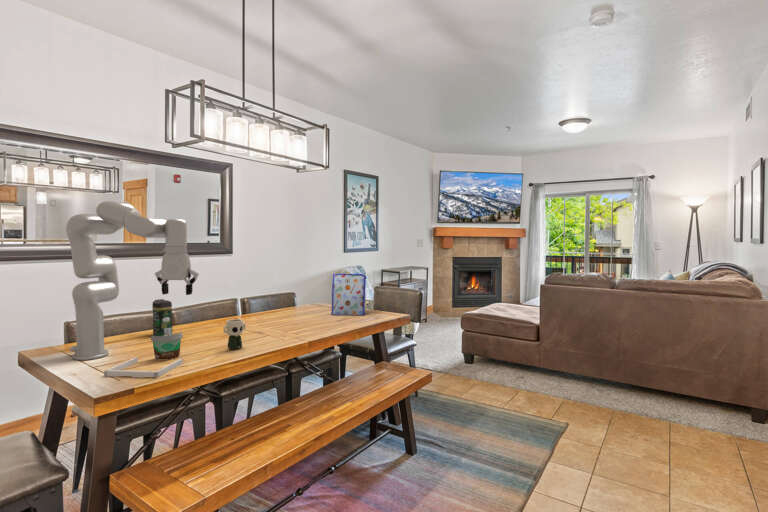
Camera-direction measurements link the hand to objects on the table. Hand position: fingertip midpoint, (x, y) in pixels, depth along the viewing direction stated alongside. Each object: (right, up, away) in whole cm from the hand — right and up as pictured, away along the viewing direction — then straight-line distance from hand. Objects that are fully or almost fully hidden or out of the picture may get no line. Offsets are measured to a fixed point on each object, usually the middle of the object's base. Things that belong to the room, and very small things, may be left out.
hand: (177, 294), depth 165 cm
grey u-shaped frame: (-10, -29, -3) cm, 30 cm away
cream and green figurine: (+13, -28, +27) cm, 41 cm away
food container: (-9, -28, +12) cm, 32 cm away
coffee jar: (-32, -26, +50) cm, 65 cm away
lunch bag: (+58, -24, +115) cm, 131 cm away
